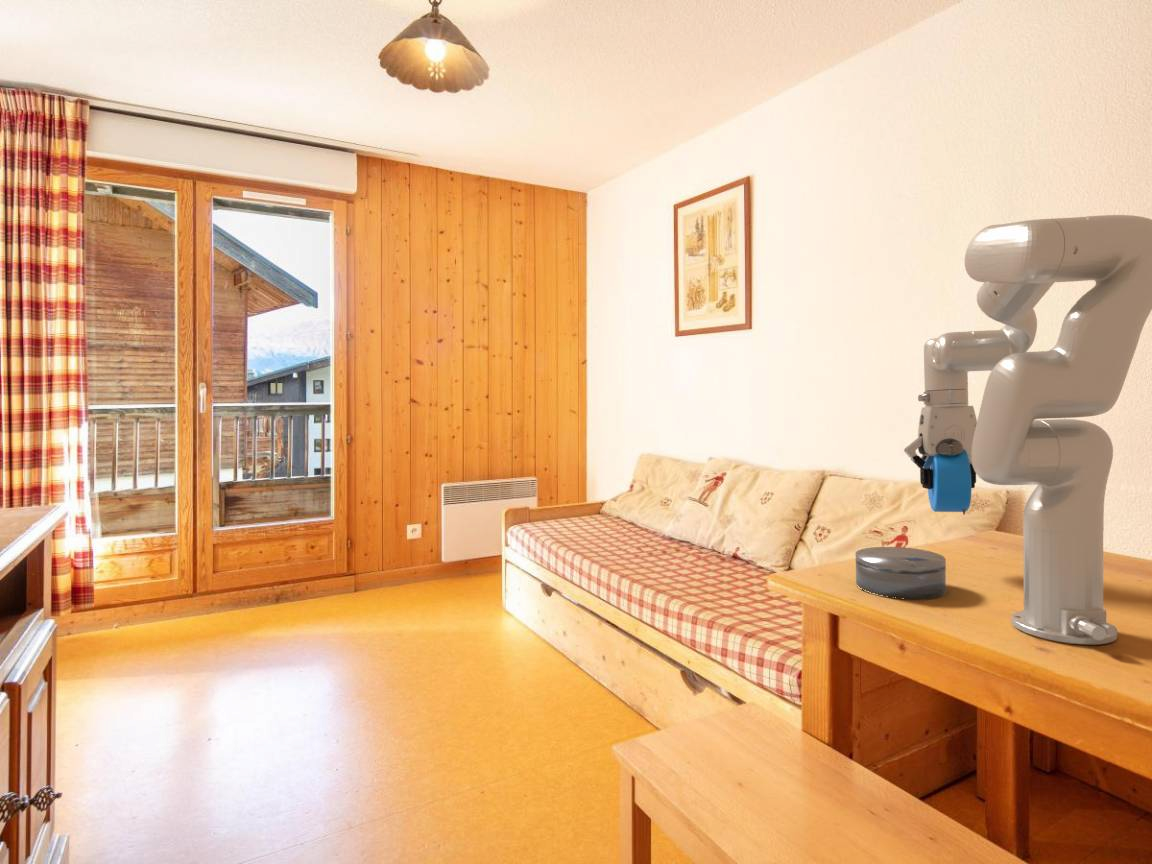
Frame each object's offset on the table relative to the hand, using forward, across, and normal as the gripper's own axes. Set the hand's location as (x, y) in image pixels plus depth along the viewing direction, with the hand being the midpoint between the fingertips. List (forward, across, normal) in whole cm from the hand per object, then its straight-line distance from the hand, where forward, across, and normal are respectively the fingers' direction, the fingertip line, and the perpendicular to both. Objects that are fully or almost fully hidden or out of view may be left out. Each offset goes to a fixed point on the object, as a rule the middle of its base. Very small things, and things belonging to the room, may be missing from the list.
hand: (948, 487), depth 129 cm
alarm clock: (+5, 0, 0) cm, 5 cm away
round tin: (+17, -14, -10) cm, 24 cm away
